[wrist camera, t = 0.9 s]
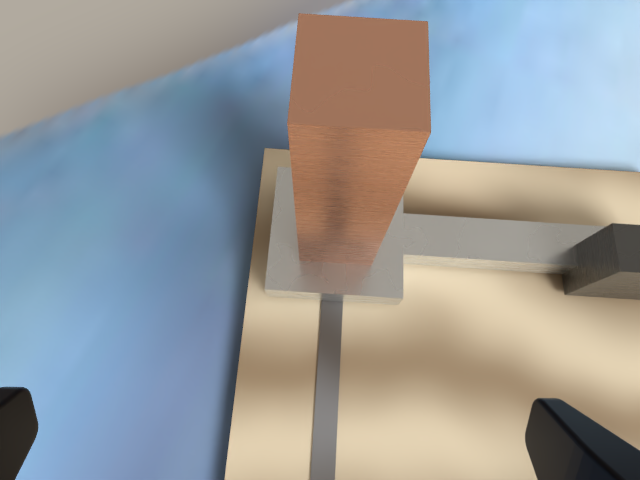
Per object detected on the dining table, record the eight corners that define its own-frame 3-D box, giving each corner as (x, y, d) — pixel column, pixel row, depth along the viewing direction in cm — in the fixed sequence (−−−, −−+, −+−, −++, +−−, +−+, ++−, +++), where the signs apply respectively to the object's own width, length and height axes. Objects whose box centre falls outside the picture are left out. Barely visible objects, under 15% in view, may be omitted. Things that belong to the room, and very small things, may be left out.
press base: (767, 737, 16) (1006, 913, 11) (202, 697, 16) (145, 852, 11) (648, 182, 24) (750, 116, 19) (266, 158, 24) (252, 84, 19)
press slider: (663, 322, 20) (1079, 230, 9) (267, 296, 20) (215, 174, 9) (638, 203, 22) (956, 13, 11) (279, 180, 22) (248, -32, 11)
